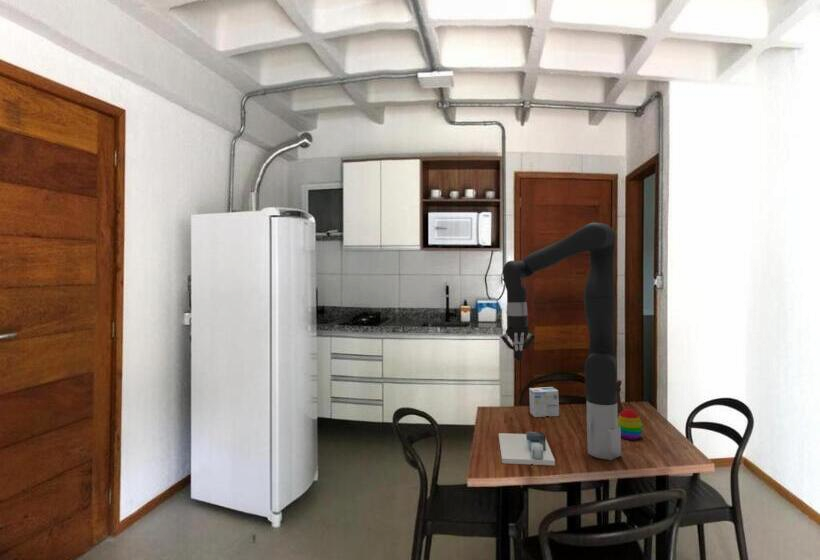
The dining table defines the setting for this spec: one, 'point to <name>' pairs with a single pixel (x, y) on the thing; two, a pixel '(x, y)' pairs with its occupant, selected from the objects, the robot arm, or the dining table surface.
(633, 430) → the decorative egg
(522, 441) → the board
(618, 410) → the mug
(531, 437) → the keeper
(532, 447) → the teal long piece
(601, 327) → the robot arm
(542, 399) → the light bulb box
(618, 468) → the dining table surface
